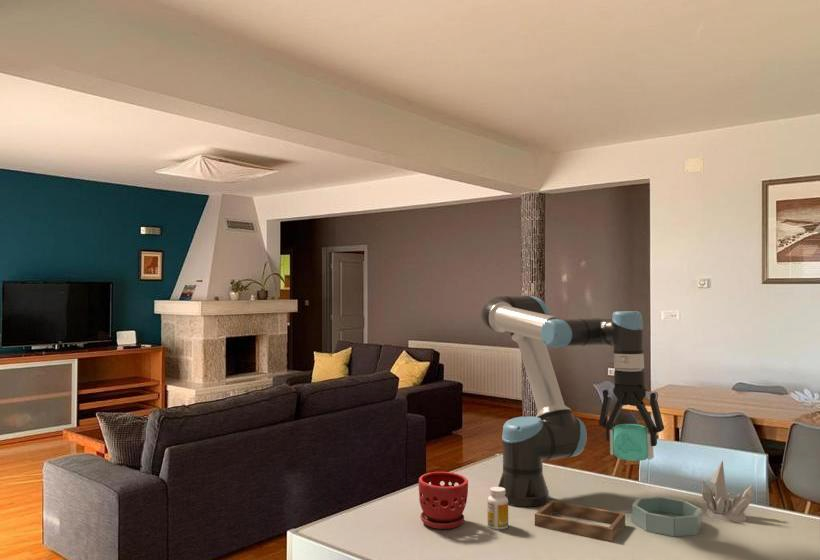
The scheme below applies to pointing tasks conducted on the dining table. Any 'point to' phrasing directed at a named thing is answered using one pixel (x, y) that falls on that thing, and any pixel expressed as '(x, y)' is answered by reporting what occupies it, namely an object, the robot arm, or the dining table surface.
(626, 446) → the decorative dice
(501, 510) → the supplement bottle
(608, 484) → the dining table surface
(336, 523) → the dining table surface
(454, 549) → the dining table surface
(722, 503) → the crystal
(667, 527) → the bowl
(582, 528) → the rectangular frame
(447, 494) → the plant pot
